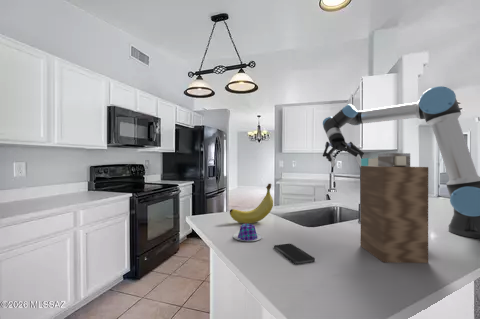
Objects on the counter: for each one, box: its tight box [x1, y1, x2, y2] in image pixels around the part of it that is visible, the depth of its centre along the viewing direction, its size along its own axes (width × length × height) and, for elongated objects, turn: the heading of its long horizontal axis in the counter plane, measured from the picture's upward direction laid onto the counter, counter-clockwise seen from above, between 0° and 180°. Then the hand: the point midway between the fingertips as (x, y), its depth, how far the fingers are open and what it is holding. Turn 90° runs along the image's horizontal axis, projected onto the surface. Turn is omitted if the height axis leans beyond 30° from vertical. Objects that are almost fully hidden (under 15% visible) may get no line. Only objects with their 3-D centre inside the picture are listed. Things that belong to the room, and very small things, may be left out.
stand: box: [360, 152, 429, 264], centre depth 80 cm, size 14×14×34 cm
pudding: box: [232, 223, 263, 242], centre depth 96 cm, size 12×12×5 cm
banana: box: [229, 183, 274, 224], centre depth 119 cm, size 23×6×20 cm, turn 101°
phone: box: [273, 243, 316, 266], centre depth 79 cm, size 8×1×15 cm
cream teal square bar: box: [361, 156, 406, 166], centre depth 86 cm, size 3×22×3 cm, turn 0°
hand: (348, 165), depth 113 cm, fingers open, 13 cm apart
